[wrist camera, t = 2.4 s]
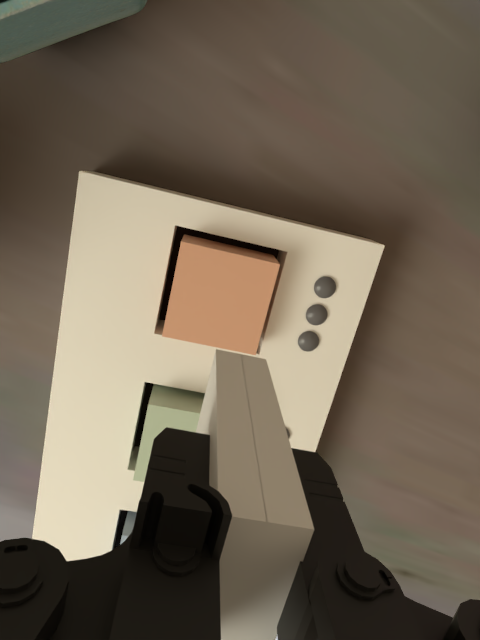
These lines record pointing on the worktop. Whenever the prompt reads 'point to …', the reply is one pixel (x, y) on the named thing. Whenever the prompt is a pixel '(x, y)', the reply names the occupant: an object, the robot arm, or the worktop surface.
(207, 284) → the button
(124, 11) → the flower pot
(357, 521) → the worktop surface
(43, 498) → the panel
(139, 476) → the button
